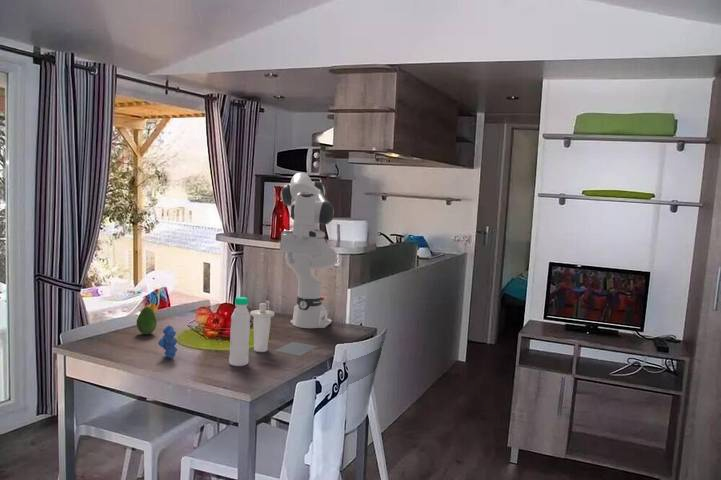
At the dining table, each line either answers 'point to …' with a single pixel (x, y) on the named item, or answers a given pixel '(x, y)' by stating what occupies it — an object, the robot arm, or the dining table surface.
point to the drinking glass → (261, 333)
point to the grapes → (168, 342)
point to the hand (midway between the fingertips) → (301, 264)
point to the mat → (296, 348)
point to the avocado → (146, 321)
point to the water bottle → (240, 333)
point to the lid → (262, 312)
